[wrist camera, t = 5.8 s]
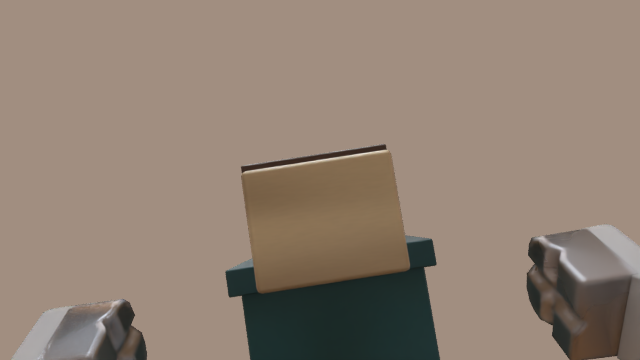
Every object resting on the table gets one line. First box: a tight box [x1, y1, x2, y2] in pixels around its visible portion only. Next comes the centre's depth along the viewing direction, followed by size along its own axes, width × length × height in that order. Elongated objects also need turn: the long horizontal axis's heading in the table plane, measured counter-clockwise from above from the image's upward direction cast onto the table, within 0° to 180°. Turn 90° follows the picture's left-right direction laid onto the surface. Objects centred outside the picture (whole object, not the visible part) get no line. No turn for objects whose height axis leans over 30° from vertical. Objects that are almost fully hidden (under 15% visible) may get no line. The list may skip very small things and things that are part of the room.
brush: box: [241, 144, 410, 294], centre depth 18 cm, size 18×6×4 cm, turn 0°
